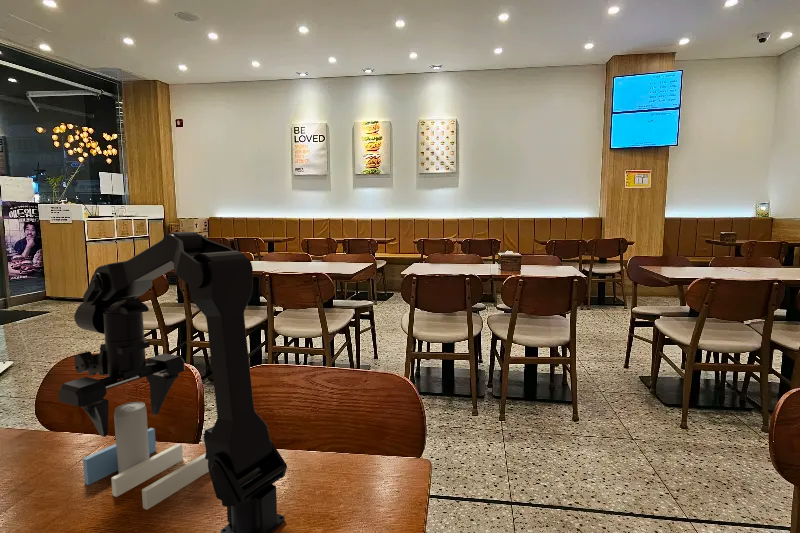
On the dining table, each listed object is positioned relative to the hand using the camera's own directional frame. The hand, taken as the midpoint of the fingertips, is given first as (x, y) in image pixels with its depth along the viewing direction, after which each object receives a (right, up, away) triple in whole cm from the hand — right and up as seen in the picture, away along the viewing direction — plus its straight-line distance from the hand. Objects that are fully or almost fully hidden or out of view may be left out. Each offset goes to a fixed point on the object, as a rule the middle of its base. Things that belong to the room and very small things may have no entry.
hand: (130, 424), depth 77 cm
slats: (+4, -9, -1) cm, 10 cm away
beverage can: (0, -9, +1) cm, 9 cm away
